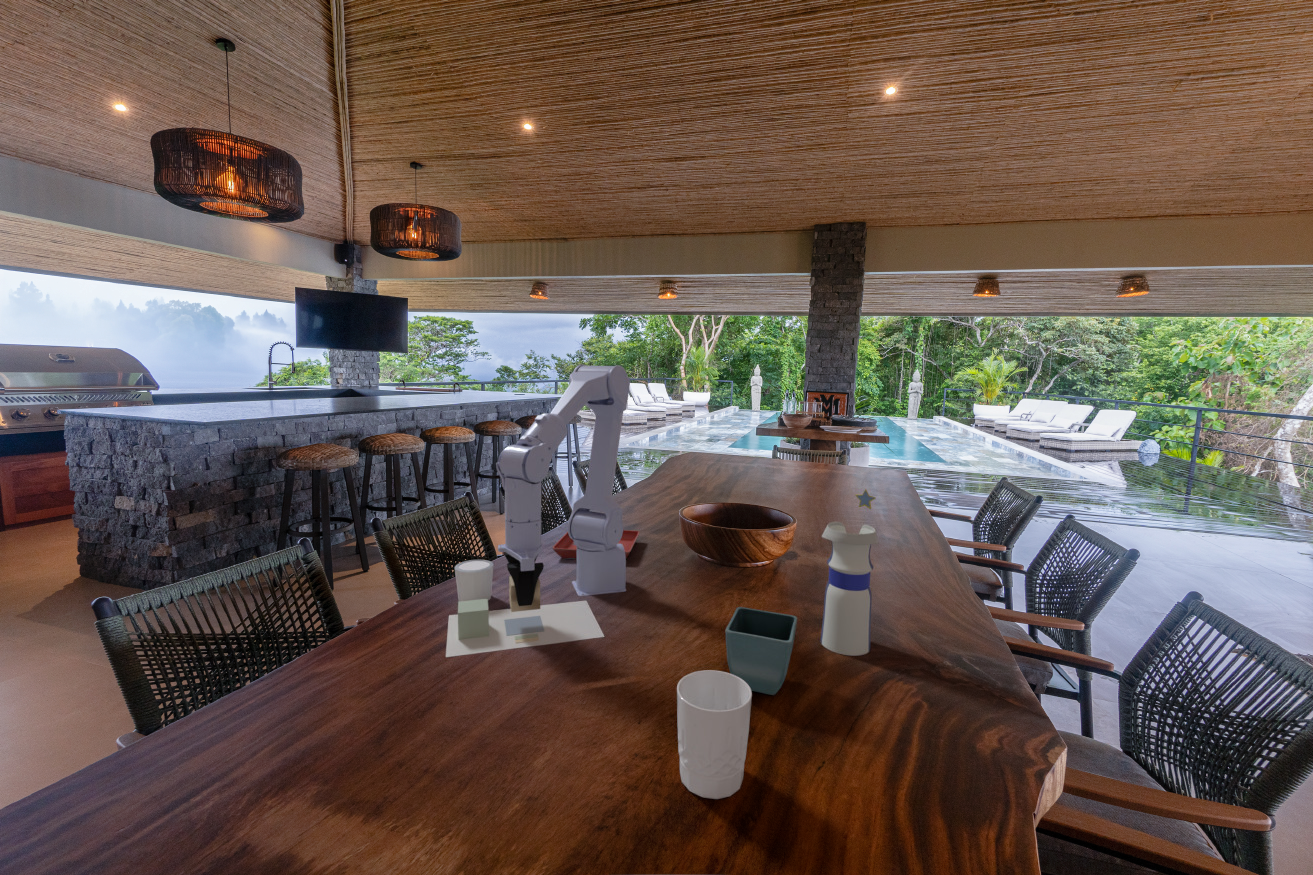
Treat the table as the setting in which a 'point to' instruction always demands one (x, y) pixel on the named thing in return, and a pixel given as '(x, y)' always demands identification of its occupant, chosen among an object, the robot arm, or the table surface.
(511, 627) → the blueprint baseplate
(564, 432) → the robot arm
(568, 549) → the plant saucer
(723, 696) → the white cup
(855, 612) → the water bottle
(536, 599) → the maple block
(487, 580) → the white tumbler
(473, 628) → the sage block
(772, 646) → the flower pot
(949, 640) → the table surface
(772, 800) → the table surface
